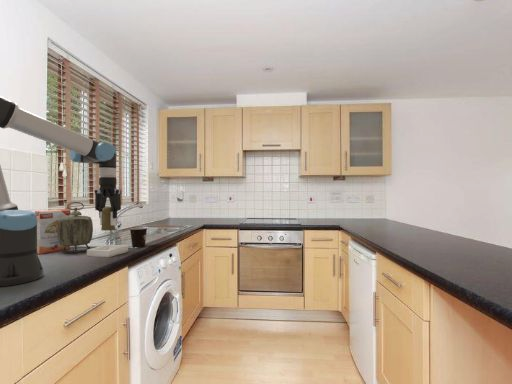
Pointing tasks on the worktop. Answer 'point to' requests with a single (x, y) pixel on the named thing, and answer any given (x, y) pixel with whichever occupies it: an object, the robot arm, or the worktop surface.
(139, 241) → the coffee mug
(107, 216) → the olive rounded piece
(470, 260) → the worktop surface
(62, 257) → the worktop surface
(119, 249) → the tray
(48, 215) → the cracker box
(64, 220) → the tabletop clock
